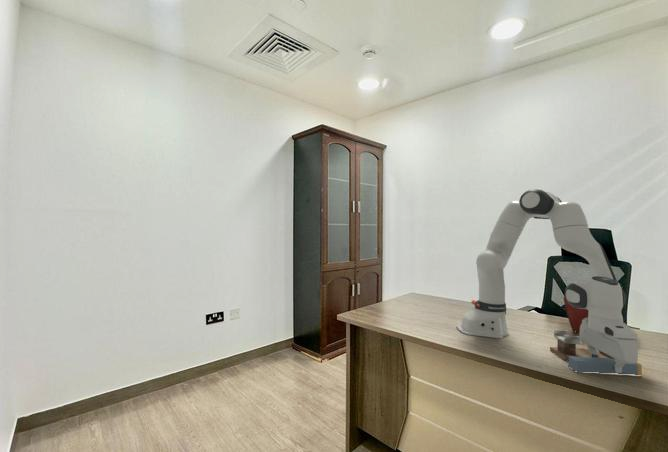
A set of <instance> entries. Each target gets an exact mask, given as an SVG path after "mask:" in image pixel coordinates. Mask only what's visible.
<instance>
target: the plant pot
mask: <svg viewBox="0 0 668 452" xmlns="http://www.w3.org/2000/svg"><path fill="white" fill-rule="evenodd" d="M563 303H564V307H565V311H566V316H567V318H568V319H567V320H568V321H569V325H570V327H571V329H572V332H574V331H576V332H575V333H578V332H580V326H581V324H582V320H583V319H584V318H588V313H589V311H588V310H587V309H579V308H575V307H572V306H571V305H570V304H569V303H568V302H567V301H566V298H565V295H564V296H563Z"/></svg>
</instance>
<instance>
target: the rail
mask: <svg viewBox="0 0 668 452" xmlns="http://www.w3.org/2000/svg"><path fill="white" fill-rule="evenodd" d="M615 364H616V362H615V359H612V358H594V357H577V356H569V361H568V368H569V367H571V368H572V369H573V370H575V371H577V372H599V373H617V372H615V371H613V370H612V369H613V367H612V365H615ZM642 365H643V364H641V363H639V362H638V361H637V362H636V363H635V364H625V365H624V366H623V368H622V373H618V374H635V375H643V374H642V373H643V372H642V371H643V370H642V369H643V367H642ZM572 369H571V370H572ZM573 370H572V371H573ZM575 371H574V372H575Z"/></svg>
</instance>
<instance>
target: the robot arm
mask: <svg viewBox="0 0 668 452" xmlns="http://www.w3.org/2000/svg"><path fill="white" fill-rule="evenodd" d="M532 218H533V219H540V220H550V222H551V227H552V232H553V237H554V240H555V242H556V244H557V246H558V247H560V248H561V249H563V250H565V251H567V252H569V253H572V254H576V255H577V256H580V257H582V258H584V259H585V260H586V261H587V262H588V264H589V266H590V269H591V270H592V273H593V276H591V277H590V278H589V279H587V280H584V281H579V282H573V283H572V282H571V283H569V284H568V285H567V286H566V287H565V289H564V296H565V298H566V301H567V302H568V303H569V304H570V305H571V306H572V307H575V308H579V309H587V310H588V311H589V313H588V318H584V319H583V320H582V324H581V326H580V332H579V333H578V334H579V335H578V336H579V337H580V342H582V343H583V344H586V345H587V349H589V351H590V353H591V357H594V358H599V355H597V352H596V350H599V351H601V352H603V353H605V354H607V355H609V356H611V357H613V358H615V362H616V364H615V365H612V367H613V369H612V370H613V371H615V372H617V373H622V368H623V366H624V365H625V364H635V363H636V362H637V363H638V360H639V348H638V347H639V346H638V343H637V341H636V339H638V337H639V336H638V332H637V331H635V330H634V329H633V328H631V327H630V326H628V325H627V323H625V322H624V317H623V314H622V310H623V307H624V305H625V303H626V300H627V297H626V294H625V291H624V290H623V288H622V287H621V283H619V281H618V280H617V277H616V275H615V272H614V270H613V268H612V264H611V263H610V261H609V258H608V256H607V253H606V252H605V250H604V247H603V246H602V244H601V243H599V242H598V241H597V240H596V239H595V237H593V234H592V233H591V231H590V228H589V224H588V220H587V218H586V215H585V212H584V210H583V209H582V207H581V205H580V204H579V203H577V202H575V201H562V200H561V199H560V198H559V197H557V196H555V194H553V193H551V192H549V191H544V190H542V189H537V188H535V189H534V188H533V189H529V190H527V191H525V192H523V193H522V194H521V196H520V198H519V200H511V201H510V202H508V203H507V205H505V207H504V209H503V210H502V211H501V213H500V215H499V216H498V219H497V220H496V222H495V224H494V227H493V229H492V232H491V233H490V237H489V239H488V243H487V245H486V247H485V250H484V251H481V252H480V253H479V254H478V255H477V256H476V257H477V258H476V261H475V262H476V263H475V264H476V271H477V278H478V300H474V299H472V300H471V304H472V305H474V308H472V309H470V310H469V311H467V312H466V313H464V314H463V315H462V317H461V322H460V323H457V324H456V329H457V330H458V331H459V332H461V333H463V334H465V335H469V336H478V337H484V338H485V337H486V338H494V339H495V338H496V339H503V338H505V337H506V336H509V334H510V332H509V330H508V324H507V318H506V314H507V303H506V284H505V277H504V276H505V273H504V269H505V268H506V266H507V264H508V262H509V260H510V257H511V256H512V253H513V251H514V249H515V247H516V244H517V242H518V240H519V239H520V236H521V234H522V233H523V231H524V228H525V226H526V225H527V223H528V221H529V220H530V219H532Z"/></svg>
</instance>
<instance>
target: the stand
mask: <svg viewBox="0 0 668 452" xmlns="http://www.w3.org/2000/svg"><path fill="white" fill-rule="evenodd" d="M569 331H570V330H562V329H560V330H559V329H554V330H553V337H554V338H555V339H556V340H557V347H555V346H549V347H550V348H549V351H550V352H551V351H552V352H551V353H553V354H554V353H555V354H554V355H556V356H557V355H558V356H557V357H559V356H560V357H561V358H560V357H559V358H560V359H562V358H563V359H564V360H563V359H562V360H563V361H565V360H569V356H577V357H591V353H590V351H589V349H588V348H578V347H576V345H580V342H581V340H580V337H579V335H569ZM596 352H597V355H599V358H612V359H615V358H613V357H611V356H609V355H607V354H605V353H603V352H601V351H599V350H597V349H596Z"/></svg>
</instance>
